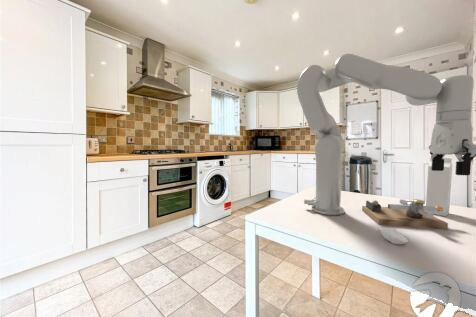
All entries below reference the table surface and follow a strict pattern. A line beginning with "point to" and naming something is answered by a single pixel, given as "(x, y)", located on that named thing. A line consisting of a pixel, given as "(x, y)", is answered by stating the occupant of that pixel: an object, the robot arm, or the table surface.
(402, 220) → the stand
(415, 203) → the capstan
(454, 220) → the table surface
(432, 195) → the milk
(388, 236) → the dumpling
